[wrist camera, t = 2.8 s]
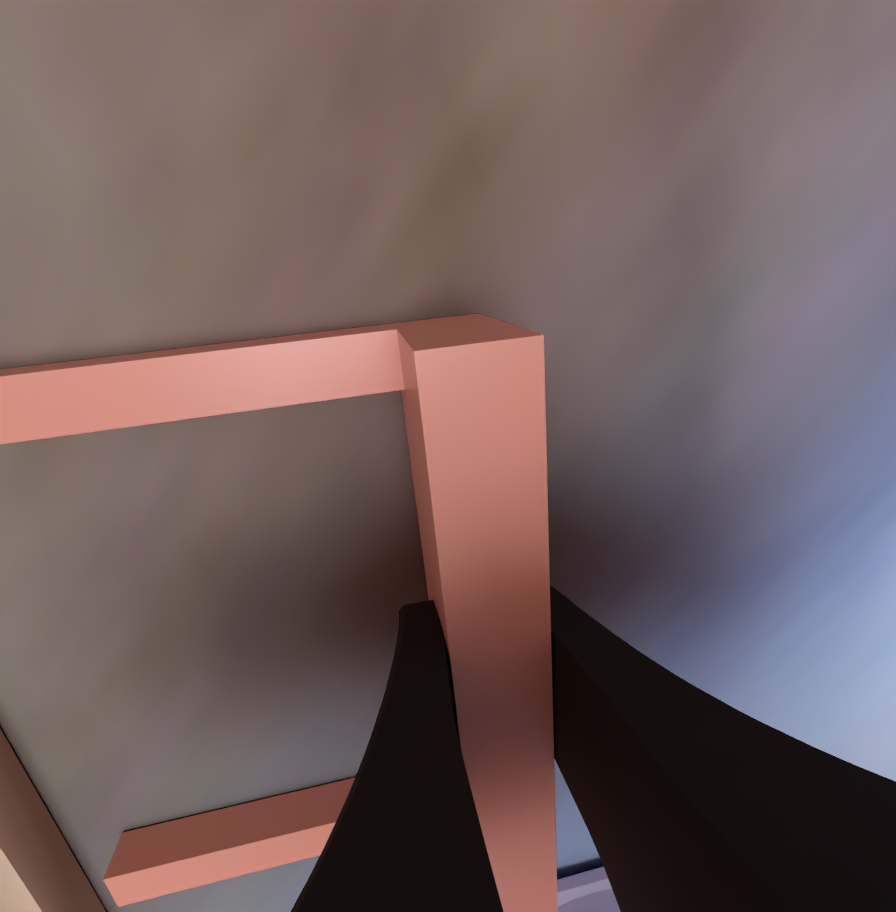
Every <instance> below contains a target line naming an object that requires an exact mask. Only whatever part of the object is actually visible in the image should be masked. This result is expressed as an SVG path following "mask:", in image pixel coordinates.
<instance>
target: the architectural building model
mask: <svg viewBox="0 0 896 912" xmlns="http://www.w3.org/2000/svg"><path fill="white" fill-rule="evenodd" d="M0 912H106V911H105V909H104V907H103V906H102V904H101V902H100V900H99V899H98V897H97V895H96V893H95V892H94V890H93V888H92V887H91V885H90V883H89V881H88V880H87V878H86V876H85V874H84V873H83V871H82V869H81V868H80V866H79V864H78V862H77V861H76V859H75V857H74V855H73V854H72V852H71V850H70V849H69V847H68V845H67V843H66V842H65V840H64V838H63V836H62V835H61V833H60V831H59V829H58V828H57V826H56V824H55V823H54V821H53V819H52V817H51V816H50V814H49V812H48V810H47V809H46V807H45V805H44V804H43V802H42V800H41V798H40V797H39V795H38V793H37V791H36V790H35V788H34V786H33V785H32V783H31V781H30V779H29V778H28V776H27V774H26V772H25V771H24V769H23V767H22V766H21V764H20V762H19V760H18V759H17V757H16V755H15V753H14V752H13V750H12V748H11V746H10V745H9V743H8V741H7V740H6V738H5V736H4V734H3V733H2V731H1V729H0Z"/></svg>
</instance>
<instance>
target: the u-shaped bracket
mask: <svg viewBox="0 0 896 912" xmlns="http://www.w3.org/2000/svg"><path fill="white" fill-rule="evenodd" d="M398 390H401V394H402V401H403V409H404V416H405V424H406V432H407V439H408V447H409V454H410V462H411V469H412V477H413V484H414V492H415V500H416V507H417V515H418V522H419V530H420V537H421V545H422V552H423V560H424V568H425V575H426V583H427V590H428V598H429V600H434V603H435V606H436V609H437V612H438V615H439V619H440V622H441V626H442V629H443V634H444V642H445V650H446V658H447V666H448V674H449V683H450V691H451V699H452V707H453V714H454V720H455V726H456V731H457V735H458V739H459V743H460V747H461V751H462V755H463V759H464V763H465V767H466V771H467V775H468V779H469V783H470V787H471V791H472V795H473V799H474V802H475V806H476V810H477V814H478V818H479V822H480V826H481V829H482V833H483V837H484V841H485V845H486V848H487V852H488V856H489V860H490V863H491V867H492V871H493V874H494V878H495V882H496V886H497V889H498V893H499V897H500V900H501V904H502V908H503V912H558V899H557V858H556V817H555V776H554V735H553V694H552V653H551V612H550V571H549V530H548V489H547V448H546V407H545V366H544V335H542V334H539V333H536V332H533V331H530V330H527V329H524V328H521V327H518V326H515V325H512V324H509V323H506V322H503V321H500V320H497V319H494V318H491V317H488V316H485V315H482V314H479V313H477V314H468V315H460V316H451V317H443V318H434V319H426V320H417V321H409V322H400V323H392V324H383V325H375V326H366V327H357V328H349V329H340V330H332V331H323V332H315V333H306V334H298V335H289V336H281V337H272V338H264V339H255V340H247V341H238V342H229V343H221V344H212V345H204V346H195V347H187V348H178V349H170V350H161V351H153V352H144V353H136V354H127V355H118V356H110V357H101V358H93V359H84V360H76V361H67V362H59V363H50V364H42V365H33V366H25V367H16V368H7V369H0V444H6V443H14V442H21V441H29V440H36V439H43V438H51V437H58V436H65V435H73V434H80V433H88V432H95V431H102V430H110V429H117V428H125V427H132V426H139V425H147V424H154V423H161V422H169V421H176V420H184V419H191V418H198V417H206V416H213V415H221V414H228V413H235V412H243V411H250V410H257V409H265V408H272V407H280V406H287V405H294V404H302V403H309V402H317V401H324V400H331V399H339V398H346V397H354V396H361V395H368V394H376V393H383V392H390V391H398ZM354 780H355V778H350V779H346V780H342V781H338V782H334V783H329V784H325V785H321V786H317V787H312V788H308V789H304V790H300V791H296V792H291V793H287V794H283V795H279V796H274V797H270V798H266V799H262V800H258V801H253V802H249V803H245V804H241V805H236V806H232V807H228V808H224V809H220V810H215V811H211V812H207V813H203V814H198V815H194V816H190V817H186V818H182V819H177V820H173V821H169V822H165V823H160V824H156V825H152V826H148V827H144V828H139V829H135V830H131V831H127V832H122V835H121V837H120V839H119V842H118V844H117V847H116V849H115V852H114V854H113V857H112V859H111V861H110V864H109V866H108V869H107V871H106V874H105V876H104V879H103V881H104V882H105V884H106V886H107V888H108V889H109V891H110V893H111V895H112V897H113V898H114V900H115V902H116V904H117V905H118V907H119V906H123V905H127V904H131V903H135V902H139V901H143V900H147V899H151V898H154V897H158V896H162V895H166V894H170V893H174V892H178V891H182V890H186V889H190V888H194V887H198V886H201V885H205V884H209V883H213V882H217V881H221V880H225V879H229V878H233V877H237V876H241V875H245V874H249V873H252V872H256V871H260V870H264V869H268V868H272V867H276V866H280V865H284V864H288V863H292V862H296V861H299V860H303V859H307V858H311V857H315V856H319V855H321V853H322V851H323V849H324V847H325V845H326V842H327V840H328V838H329V836H330V834H331V832H332V829H333V827H334V825H335V823H336V821H337V818H338V816H339V814H340V812H341V810H342V808H343V805H344V803H345V801H346V799H347V796H348V794H349V792H350V789H351V787H352V784H353V782H354Z"/></svg>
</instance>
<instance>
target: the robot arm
mask: <svg viewBox="0 0 896 912" xmlns="http://www.w3.org/2000/svg"><path fill="white" fill-rule="evenodd" d="M550 612H551V653H552V694H553V735H554V758H555V760H556V762H557V764H558V766H559V769H560V771H561V773H562V775H563V777H564V779H565V781H566V783H567V786H568V788H569V790H570V792H571V794H572V796H573V798H574V800H575V803H576V805H577V807H578V809H579V811H580V813H581V815H582V817H583V820H584V822H585V824H586V826H587V828H588V830H589V832H590V835H591V837H592V839H593V842H594V844H595V846H596V849H597V851H598V854H599V856H600V858H601V861H602V863H603V866H604V867H600V868H596V869H593V870H589V871H586V872H582V873H578V874H575V875H571V876H568V877H564V878H561V879H557V899H558V912H896V782H895V781H892V780H890V779H888V778H885V777H883V776H880V775H878V774H875V773H873V772H870V771H868V770H865V769H863V768H860V767H858V766H855V765H853V764H851V763H849V762H846V761H844V760H842V759H839V758H837V757H835V756H833V755H830V754H828V753H826V752H823V751H821V750H819V749H817V748H814V747H812V746H810V745H808V744H806V743H804V742H802V741H800V740H797V739H795V738H793V737H791V736H789V735H787V734H785V733H783V732H781V731H778V730H776V729H774V728H772V727H770V726H768V725H766V724H764V723H762V722H760V721H758V720H756V719H754V718H752V717H750V716H748V715H746V714H744V713H742V712H740V711H738V710H736V709H735V708H733V707H731V706H729V705H727V704H726V703H724V702H722V701H720V700H718V699H717V698H715V697H713V696H711V695H709V694H707V693H706V692H704V691H702V690H700V689H698V688H697V687H695V686H693V685H692V684H690V683H688V682H686V681H685V680H683V679H681V678H680V677H678V676H676V675H675V674H673V673H672V672H670V671H669V670H667V669H665V668H664V667H662V666H661V665H659V664H658V663H656V662H654V661H653V660H651V659H650V658H648V657H647V656H645V655H644V654H642V653H641V652H639V651H638V650H636V649H635V648H633V647H632V646H630V645H629V644H628V643H626V642H625V641H623V640H622V639H621V638H619V637H618V636H616V635H615V634H614V633H612V632H611V631H609V630H608V629H607V628H605V627H604V626H603V625H601V624H600V623H599V622H597V621H596V620H595V619H593V618H592V617H591V616H589V615H588V614H587V613H585V612H584V611H583V610H581V609H580V608H579V607H578V606H576V605H575V604H574V603H572V602H571V601H570V600H569V599H567V598H566V597H565V596H564V595H562V594H561V593H560V592H558V591H557V590H556V589H555V588H553V587H552V586H551V585H550ZM291 912H503V908H502V904H501V900H500V897H499V893H498V889H497V886H496V882H495V878H494V874H493V871H492V867H491V863H490V860H489V856H488V852H487V848H486V845H485V841H484V837H483V833H482V829H481V826H480V822H479V818H478V814H477V810H476V806H475V802H474V799H473V795H472V791H471V787H470V783H469V779H468V775H467V771H466V767H465V763H464V759H463V755H462V751H461V747H460V743H459V739H458V735H457V731H456V726H455V720H454V714H453V707H452V699H451V691H450V683H449V674H448V666H447V658H446V650H445V642H444V634H443V629H442V626H441V622H440V619H439V615H438V612H437V609H436V606H435V603H434V600H428V601H423V602H418V603H413V604H407V605H404V606H403V607H402V608H401V609H400V611H399V630H398V637H397V643H396V649H395V654H394V659H393V663H392V667H391V671H390V675H389V679H388V683H387V687H386V691H385V694H384V698H383V701H382V704H381V707H380V710H379V713H378V716H377V719H376V723H375V726H374V729H373V732H372V735H371V738H370V741H369V743H368V746H367V749H366V752H365V754H364V757H363V760H362V762H361V765H360V767H359V770H358V772H357V775H356V777H355V780H354V782H353V784H352V787H351V789H350V792H349V794H348V796H347V799H346V801H345V803H344V805H343V808H342V810H341V812H340V814H339V816H338V818H337V821H336V823H335V825H334V827H333V829H332V832H331V834H330V836H329V838H328V840H327V842H326V845H325V847H324V849H323V851H322V853H321V855H320V857H319V859H318V861H317V863H316V865H315V867H314V869H313V871H312V873H311V875H310V877H309V879H308V881H307V883H306V884H305V886H304V888H303V890H302V892H301V894H300V896H299V897H298V899H297V901H296V903H295V905H294V907H293V908H292V910H291Z"/></svg>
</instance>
